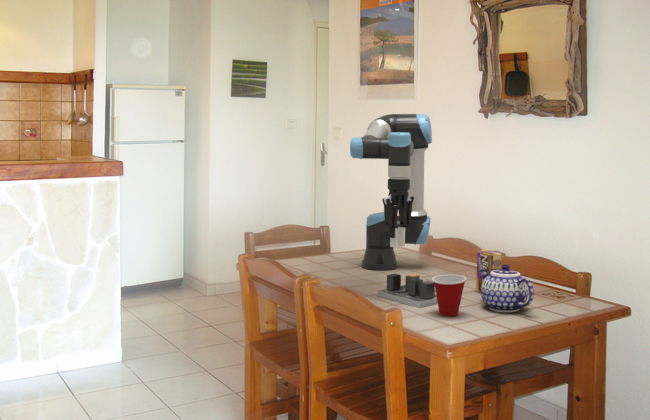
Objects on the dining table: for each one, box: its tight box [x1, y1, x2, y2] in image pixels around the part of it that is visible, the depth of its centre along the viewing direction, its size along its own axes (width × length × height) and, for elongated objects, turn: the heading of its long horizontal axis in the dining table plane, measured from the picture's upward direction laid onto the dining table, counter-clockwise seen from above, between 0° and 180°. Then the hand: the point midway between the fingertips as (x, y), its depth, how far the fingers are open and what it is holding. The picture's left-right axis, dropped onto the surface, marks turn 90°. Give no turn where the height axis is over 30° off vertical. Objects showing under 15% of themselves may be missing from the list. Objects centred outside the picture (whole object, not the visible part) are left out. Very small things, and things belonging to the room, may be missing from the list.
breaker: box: [404, 273, 420, 291], centre depth 245 cm, size 4×3×5 cm
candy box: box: [475, 249, 503, 294], centre depth 249 cm, size 9×4×15 cm, turn 26°
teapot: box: [479, 263, 535, 313], centre depth 229 cm, size 25×15×15 cm, turn 25°
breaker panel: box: [376, 273, 438, 309], centre depth 243 cm, size 20×20×7 cm
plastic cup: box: [431, 274, 467, 317], centre depth 221 cm, size 11×11×12 cm
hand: (397, 246), depth 238 cm, fingers open, 3 cm apart
